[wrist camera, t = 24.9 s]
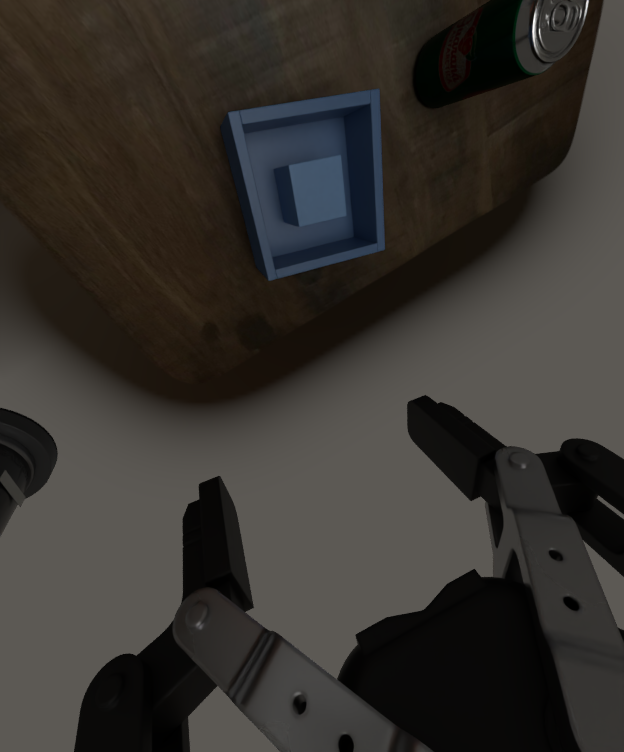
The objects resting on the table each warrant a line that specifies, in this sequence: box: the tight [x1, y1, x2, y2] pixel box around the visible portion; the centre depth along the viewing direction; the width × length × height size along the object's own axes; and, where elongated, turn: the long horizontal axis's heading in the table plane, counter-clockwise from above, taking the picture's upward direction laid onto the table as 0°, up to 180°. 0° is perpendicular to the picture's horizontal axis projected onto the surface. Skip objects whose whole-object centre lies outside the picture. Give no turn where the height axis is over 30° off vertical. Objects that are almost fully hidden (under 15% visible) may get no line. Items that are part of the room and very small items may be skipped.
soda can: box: [416, 0, 589, 108], centre depth 24 cm, size 5×5×12 cm
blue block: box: [274, 155, 346, 227], centre depth 27 cm, size 4×4×5 cm
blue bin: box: [220, 89, 385, 281], centre depth 28 cm, size 12×12×6 cm
